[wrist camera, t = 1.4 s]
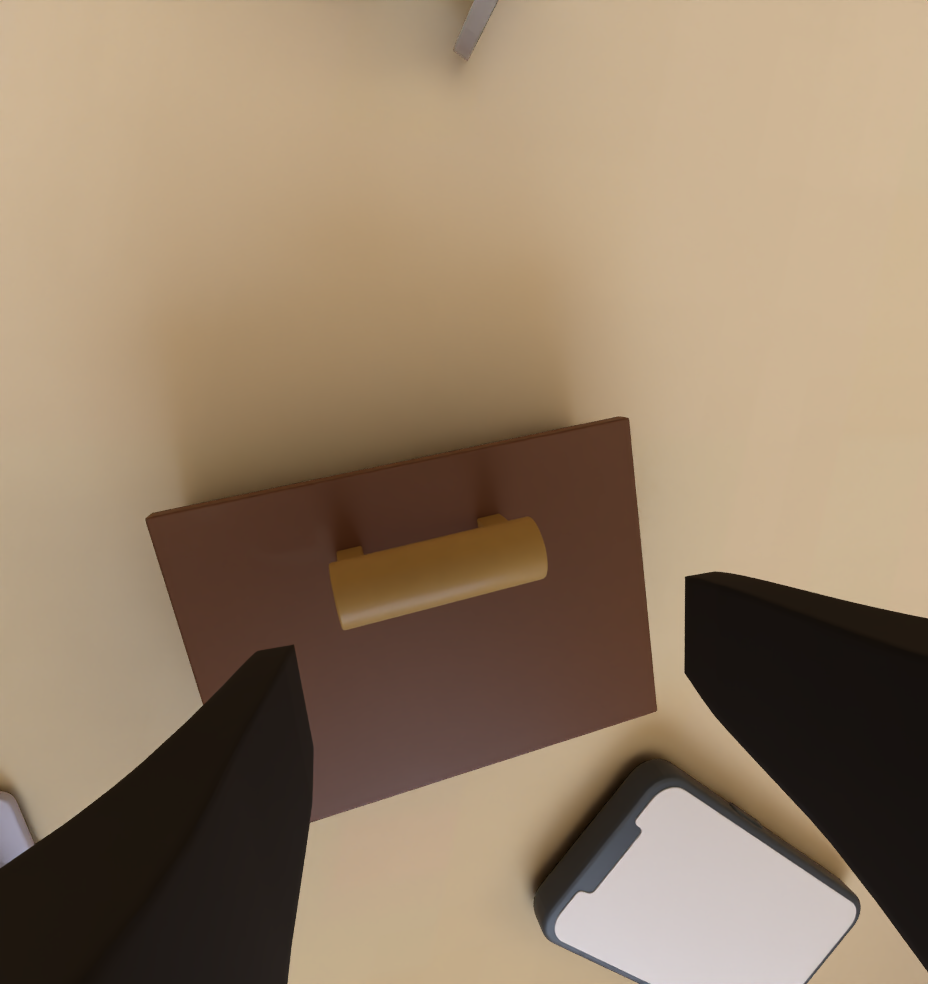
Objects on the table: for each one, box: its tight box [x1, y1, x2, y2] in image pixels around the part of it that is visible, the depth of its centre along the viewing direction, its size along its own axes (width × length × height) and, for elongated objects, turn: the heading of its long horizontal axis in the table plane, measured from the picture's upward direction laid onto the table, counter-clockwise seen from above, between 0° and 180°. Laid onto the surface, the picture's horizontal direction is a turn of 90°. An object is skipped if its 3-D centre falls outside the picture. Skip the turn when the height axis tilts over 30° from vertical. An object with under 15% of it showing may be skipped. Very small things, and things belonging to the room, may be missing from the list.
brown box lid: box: [146, 416, 657, 823], centre depth 16 cm, size 10×13×4 cm
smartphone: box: [534, 759, 860, 984], centre depth 26 cm, size 9×2×16 cm
